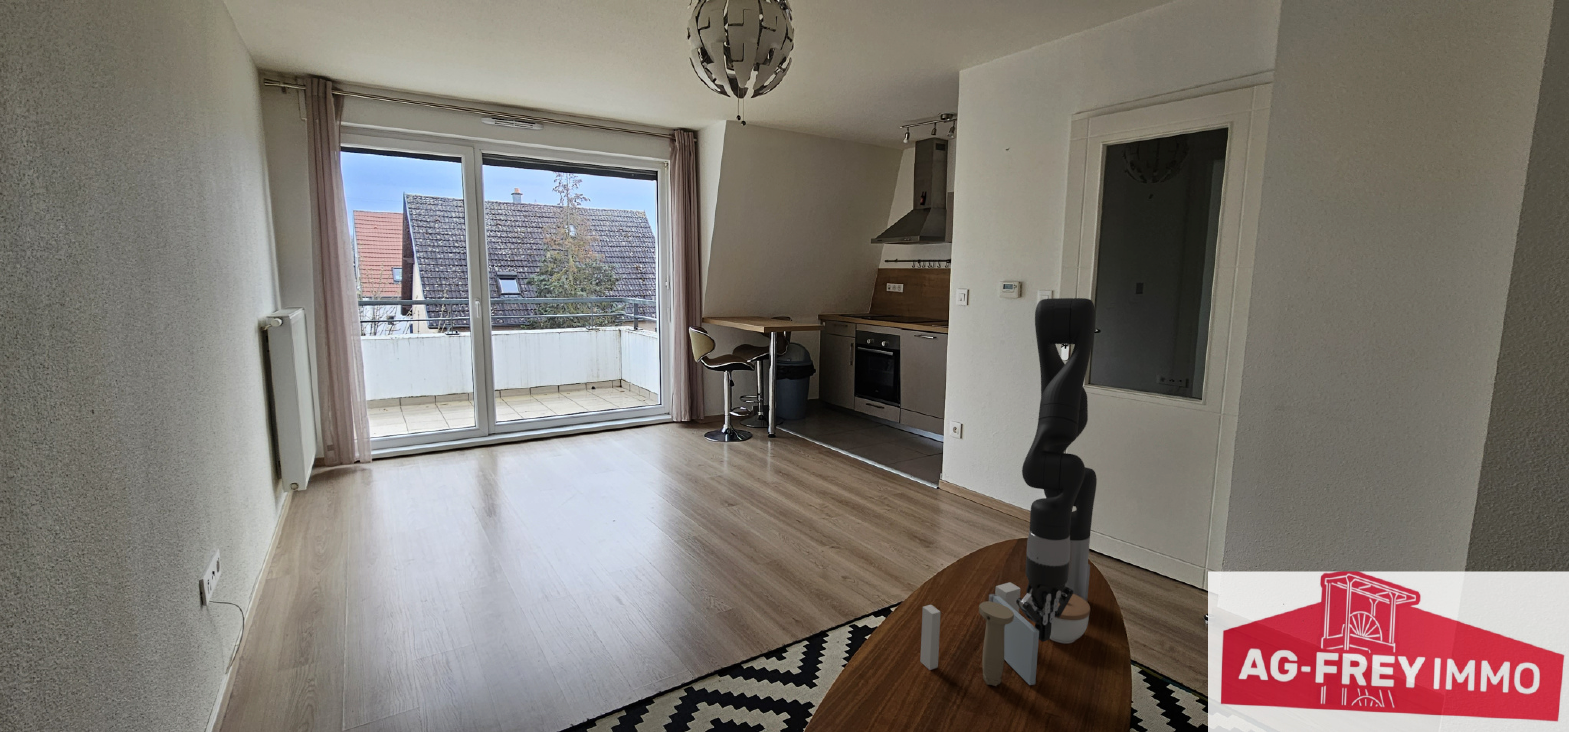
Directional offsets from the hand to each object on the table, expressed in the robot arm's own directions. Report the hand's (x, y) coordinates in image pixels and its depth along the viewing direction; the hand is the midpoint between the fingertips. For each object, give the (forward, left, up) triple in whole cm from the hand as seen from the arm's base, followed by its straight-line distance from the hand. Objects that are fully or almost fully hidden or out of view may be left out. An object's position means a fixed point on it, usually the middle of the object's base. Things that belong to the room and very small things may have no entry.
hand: (1042, 638), depth 130 cm
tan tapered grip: (+9, -3, -8) cm, 13 cm away
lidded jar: (-15, -9, -8) cm, 19 cm away
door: (+2, -6, -8) cm, 10 cm away
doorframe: (+6, -13, -8) cm, 16 cm away
